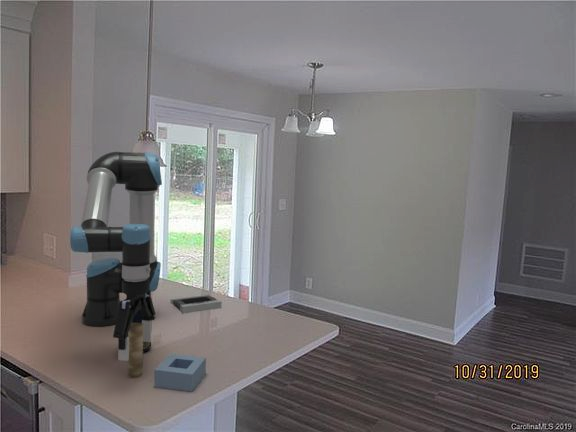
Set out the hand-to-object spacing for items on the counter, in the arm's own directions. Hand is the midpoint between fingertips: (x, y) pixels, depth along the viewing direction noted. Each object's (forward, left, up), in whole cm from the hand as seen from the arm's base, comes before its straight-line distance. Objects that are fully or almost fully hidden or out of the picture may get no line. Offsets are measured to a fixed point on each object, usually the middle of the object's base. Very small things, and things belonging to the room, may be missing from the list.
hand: (135, 350), depth 132 cm
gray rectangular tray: (-6, +65, -8) cm, 66 cm away
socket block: (+14, 0, -8) cm, 16 cm away
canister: (-8, +16, -8) cm, 20 cm away
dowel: (0, 0, -8) cm, 8 cm away
